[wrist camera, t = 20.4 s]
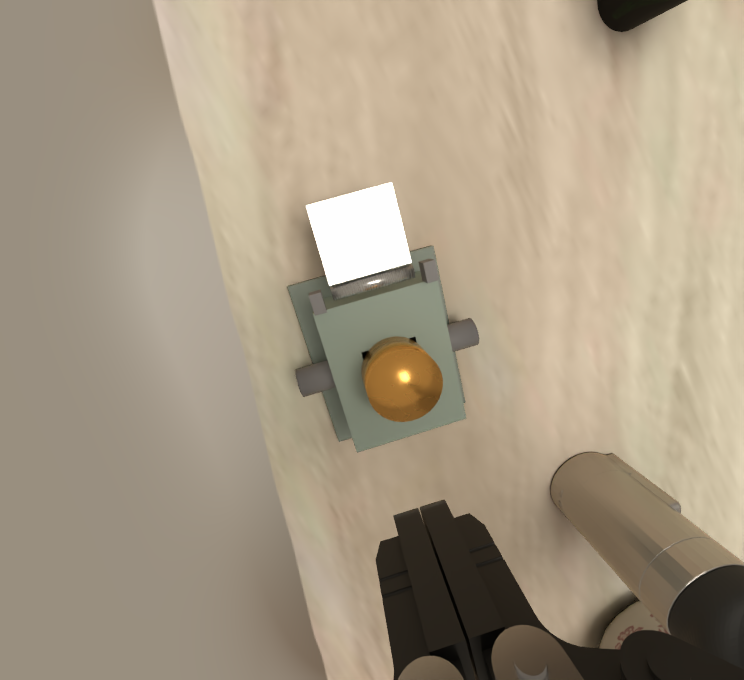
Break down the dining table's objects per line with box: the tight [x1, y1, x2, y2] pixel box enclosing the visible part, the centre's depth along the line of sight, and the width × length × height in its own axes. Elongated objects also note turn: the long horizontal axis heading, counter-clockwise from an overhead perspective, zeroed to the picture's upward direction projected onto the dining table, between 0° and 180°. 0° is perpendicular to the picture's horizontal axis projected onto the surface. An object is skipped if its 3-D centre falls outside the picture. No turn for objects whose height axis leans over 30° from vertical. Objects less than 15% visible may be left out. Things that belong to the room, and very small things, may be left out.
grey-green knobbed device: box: [288, 246, 479, 453], centre depth 37 cm, size 18×18×8 cm
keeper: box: [306, 182, 415, 301], centre depth 30 cm, size 7×1×8 cm
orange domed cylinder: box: [361, 336, 443, 422], centre depth 35 cm, size 6×6×10 cm
